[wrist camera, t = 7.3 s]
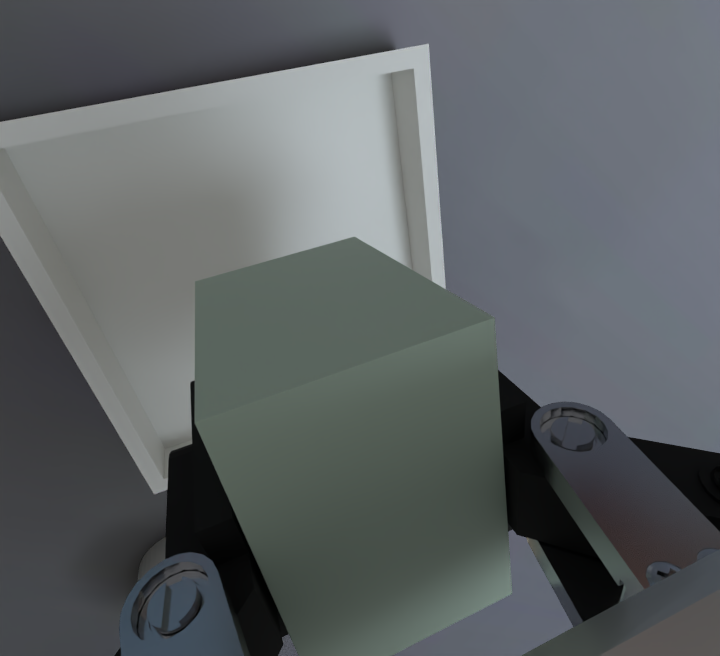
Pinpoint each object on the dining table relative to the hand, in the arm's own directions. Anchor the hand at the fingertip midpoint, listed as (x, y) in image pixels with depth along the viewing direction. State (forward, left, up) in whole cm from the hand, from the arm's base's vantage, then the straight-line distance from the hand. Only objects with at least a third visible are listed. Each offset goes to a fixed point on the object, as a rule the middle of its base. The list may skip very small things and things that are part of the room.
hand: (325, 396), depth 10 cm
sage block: (0, 0, -2) cm, 2 cm away
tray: (0, 0, -9) cm, 9 cm away
